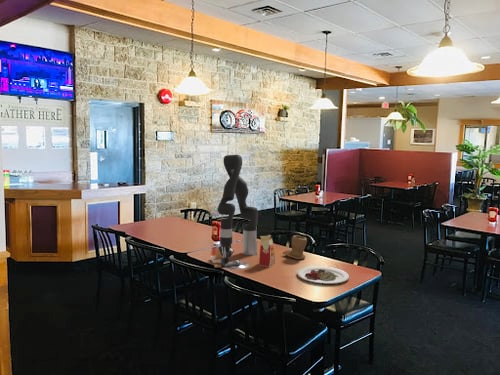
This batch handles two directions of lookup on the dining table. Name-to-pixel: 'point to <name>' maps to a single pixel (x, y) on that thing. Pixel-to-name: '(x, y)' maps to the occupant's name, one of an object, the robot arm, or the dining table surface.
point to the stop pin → (218, 254)
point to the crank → (235, 263)
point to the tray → (215, 260)
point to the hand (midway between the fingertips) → (225, 263)
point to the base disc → (242, 266)
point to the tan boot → (297, 247)
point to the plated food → (323, 274)
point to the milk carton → (266, 252)
